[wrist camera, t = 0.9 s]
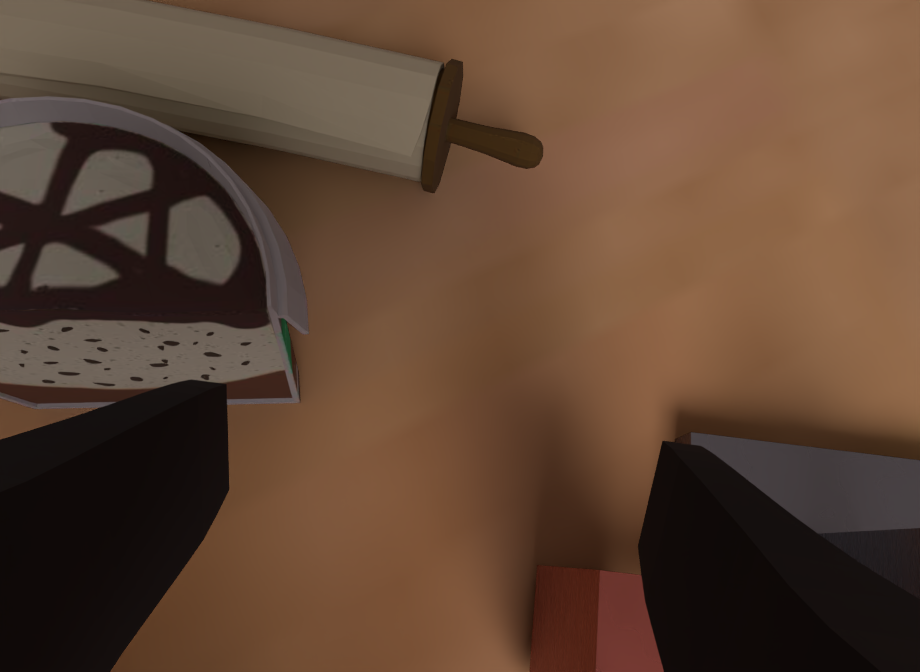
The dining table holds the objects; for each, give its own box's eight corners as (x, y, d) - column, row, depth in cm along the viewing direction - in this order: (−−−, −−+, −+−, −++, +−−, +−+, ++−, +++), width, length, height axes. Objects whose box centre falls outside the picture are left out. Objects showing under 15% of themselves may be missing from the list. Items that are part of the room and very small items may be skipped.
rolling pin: (542, 132, 29) (567, 50, 24) (521, 247, 27) (544, 182, 23) (-185, -15, 29) (-302, -126, 24) (-252, 90, 27) (-392, -8, 23)
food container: (344, 249, 26) (304, 78, 17) (341, 402, 25) (294, 305, 15) (19, 251, 26) (-215, 73, 16) (-10, 410, 24) (-294, 312, 14)
